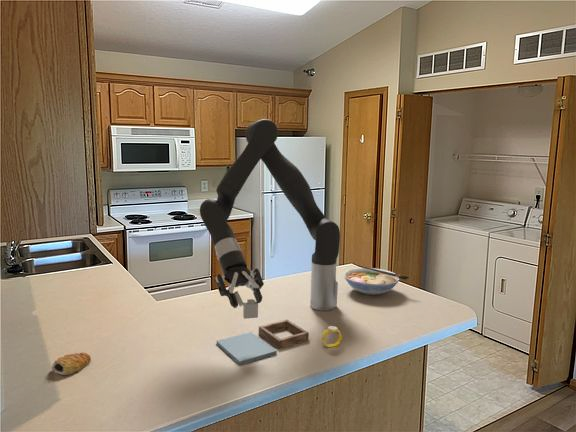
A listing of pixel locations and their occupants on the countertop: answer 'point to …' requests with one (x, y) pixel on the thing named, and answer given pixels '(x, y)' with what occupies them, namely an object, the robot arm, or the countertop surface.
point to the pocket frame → (299, 337)
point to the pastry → (71, 363)
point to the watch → (332, 329)
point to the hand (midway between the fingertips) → (248, 304)
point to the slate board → (246, 348)
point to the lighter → (248, 307)
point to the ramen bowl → (372, 280)
